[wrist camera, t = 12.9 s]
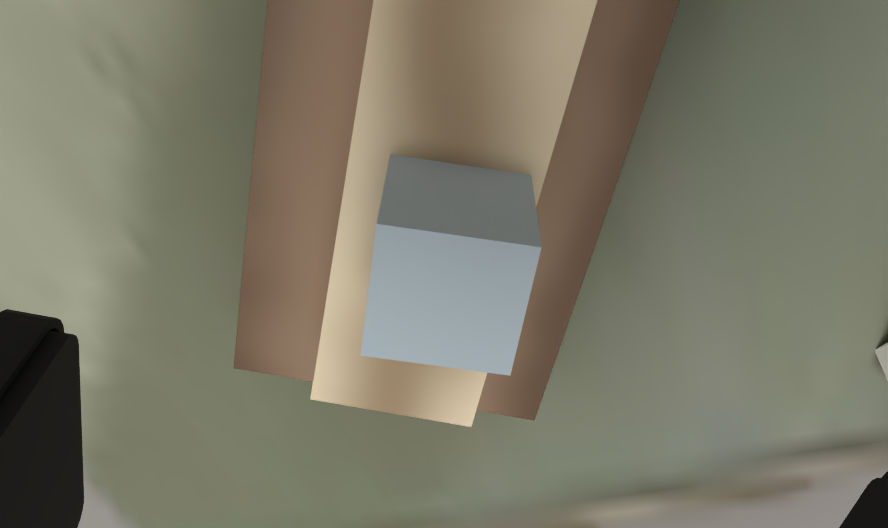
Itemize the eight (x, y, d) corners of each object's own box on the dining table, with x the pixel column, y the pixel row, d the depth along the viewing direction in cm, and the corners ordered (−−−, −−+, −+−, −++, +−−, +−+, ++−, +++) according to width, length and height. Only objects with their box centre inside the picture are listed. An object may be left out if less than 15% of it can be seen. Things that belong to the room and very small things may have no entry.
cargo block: (531, 174, 24) (541, 247, 20) (505, 292, 26) (510, 375, 23) (390, 154, 24) (376, 224, 20) (374, 273, 26) (360, 355, 22)
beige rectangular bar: (615, -164, 23) (640, -148, 20) (471, 354, 32) (471, 426, 29) (415, -211, 22) (405, -203, 19) (327, 328, 32) (310, 399, 28)
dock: (718, -199, 25) (746, -192, 22) (529, 372, 36) (534, 420, 34) (314, -296, 24) (295, -301, 21) (250, 322, 35) (233, 368, 33)
